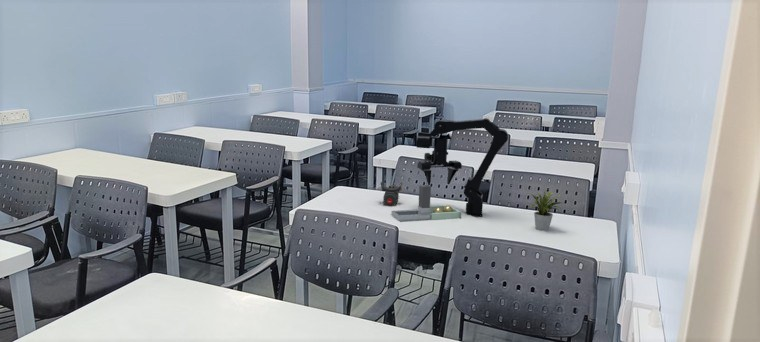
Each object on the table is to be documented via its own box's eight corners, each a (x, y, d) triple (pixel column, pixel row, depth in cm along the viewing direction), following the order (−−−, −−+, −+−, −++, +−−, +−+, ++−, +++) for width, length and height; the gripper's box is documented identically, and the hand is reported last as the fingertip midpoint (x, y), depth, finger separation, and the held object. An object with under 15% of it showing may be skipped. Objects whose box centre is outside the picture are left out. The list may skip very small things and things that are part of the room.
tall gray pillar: (426, 214, 229) (427, 184, 226) (430, 217, 225) (431, 186, 223) (417, 215, 228) (418, 185, 225) (421, 217, 224) (422, 187, 221)
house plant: (533, 235, 206) (537, 193, 203) (515, 225, 219) (518, 185, 216) (566, 233, 210) (570, 192, 207) (546, 223, 223) (549, 184, 220)
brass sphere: (439, 204, 224) (431, 209, 224) (444, 212, 223) (436, 217, 223) (439, 207, 228) (431, 211, 228) (444, 215, 227) (436, 219, 227)
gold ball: (451, 206, 232) (443, 203, 230) (455, 208, 228) (447, 205, 227) (447, 214, 232) (440, 211, 231) (451, 217, 228) (444, 214, 227)
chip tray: (448, 210, 236) (448, 205, 236) (460, 218, 225) (461, 212, 225) (421, 212, 232) (421, 206, 232) (432, 219, 221) (432, 213, 221)
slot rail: (448, 212, 236) (448, 206, 236) (460, 219, 225) (461, 213, 225) (390, 215, 228) (390, 210, 228) (400, 223, 217) (400, 217, 216)
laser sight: (402, 197, 263) (403, 177, 261) (400, 208, 241) (401, 186, 239) (383, 196, 264) (383, 176, 262) (378, 207, 242) (379, 185, 240)
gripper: (452, 146, 243) (450, 180, 246) (413, 146, 237) (412, 181, 240) (463, 149, 232) (461, 185, 235) (423, 150, 227) (421, 186, 230)
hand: (438, 184), depth 235 cm, fingers open, 9 cm apart
